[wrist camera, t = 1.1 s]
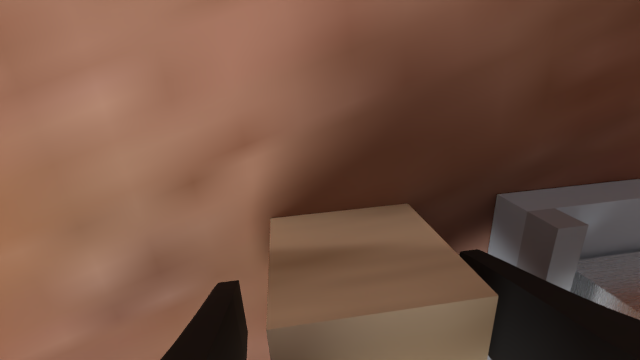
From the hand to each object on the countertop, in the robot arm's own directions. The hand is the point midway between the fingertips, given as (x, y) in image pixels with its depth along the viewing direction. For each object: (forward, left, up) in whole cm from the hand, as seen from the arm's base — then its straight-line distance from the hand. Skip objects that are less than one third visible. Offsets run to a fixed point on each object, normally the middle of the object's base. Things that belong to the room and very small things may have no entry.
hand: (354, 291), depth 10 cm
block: (0, 0, -2) cm, 2 cm away
